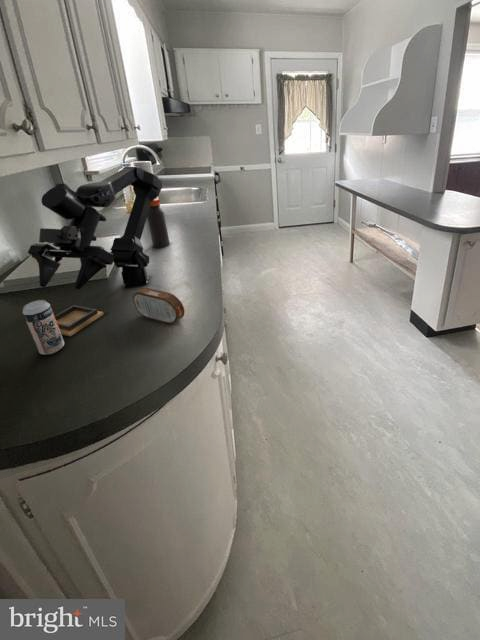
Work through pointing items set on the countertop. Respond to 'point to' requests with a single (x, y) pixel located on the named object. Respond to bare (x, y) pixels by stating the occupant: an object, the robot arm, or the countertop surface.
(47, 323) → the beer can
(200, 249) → the countertop surface
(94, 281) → the countertop surface
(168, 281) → the countertop surface
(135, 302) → the tin
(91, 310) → the socket pad
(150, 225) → the bottle
